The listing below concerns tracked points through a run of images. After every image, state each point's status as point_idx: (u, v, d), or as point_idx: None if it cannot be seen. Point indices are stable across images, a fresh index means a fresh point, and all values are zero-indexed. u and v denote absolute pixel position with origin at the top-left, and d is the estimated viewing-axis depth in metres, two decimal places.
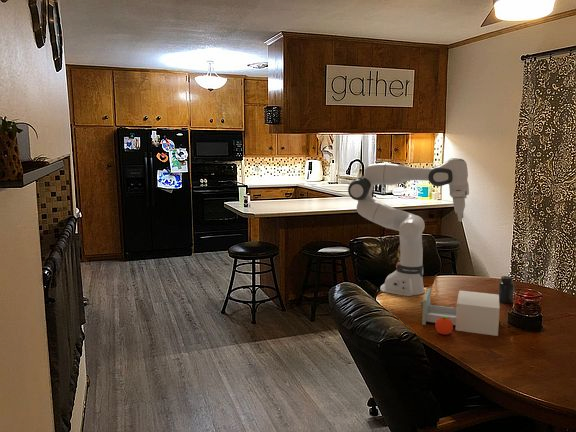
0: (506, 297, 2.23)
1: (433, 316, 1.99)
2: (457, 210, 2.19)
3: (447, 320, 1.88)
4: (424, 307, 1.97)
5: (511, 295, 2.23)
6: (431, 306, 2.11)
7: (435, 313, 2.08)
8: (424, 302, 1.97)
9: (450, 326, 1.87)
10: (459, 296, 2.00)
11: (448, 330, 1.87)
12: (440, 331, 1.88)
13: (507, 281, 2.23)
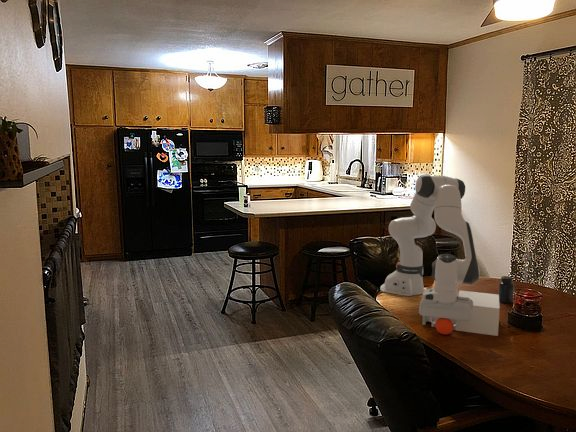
0: (506, 297, 2.23)
1: None
2: None
3: (447, 320, 1.88)
4: None
5: (511, 295, 2.23)
6: None
7: None
8: None
9: (450, 326, 1.87)
10: (459, 296, 2.00)
11: (448, 330, 1.87)
12: (440, 331, 1.88)
13: (507, 281, 2.23)
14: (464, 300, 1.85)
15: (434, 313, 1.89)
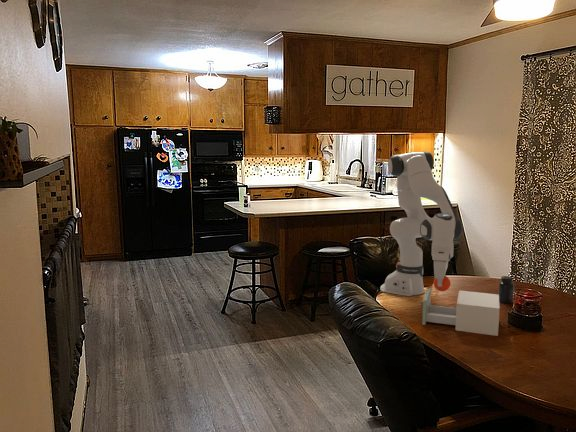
0: (506, 297, 2.23)
1: (433, 316, 1.99)
2: (437, 276, 1.92)
3: None
4: (424, 307, 1.97)
5: (511, 295, 2.23)
6: (431, 306, 2.11)
7: (435, 313, 2.08)
8: (424, 302, 1.97)
9: None
10: (459, 296, 2.00)
11: None
12: (448, 287, 2.00)
13: (507, 281, 2.23)
14: None
15: (445, 271, 1.97)
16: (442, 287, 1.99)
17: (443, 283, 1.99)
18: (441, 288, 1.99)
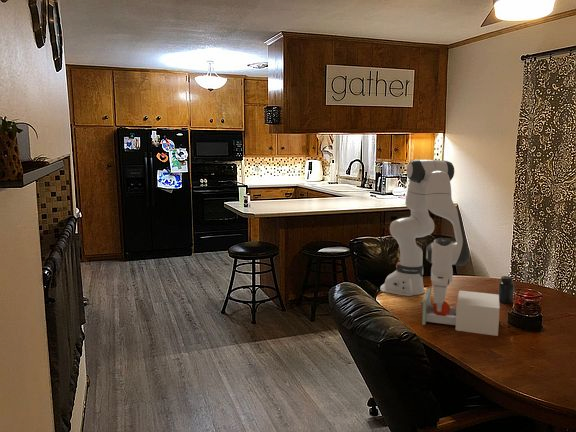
0: (506, 297, 2.23)
1: (433, 316, 1.99)
2: (436, 301, 1.94)
3: (444, 301, 2.04)
4: (424, 307, 1.97)
5: (511, 295, 2.23)
6: (431, 306, 2.11)
7: None
8: (424, 302, 1.97)
9: None
10: (459, 296, 2.00)
11: None
12: (447, 313, 2.02)
13: (507, 281, 2.23)
14: None
15: (444, 296, 1.98)
16: (441, 313, 2.01)
17: (442, 309, 2.00)
18: (440, 314, 2.01)
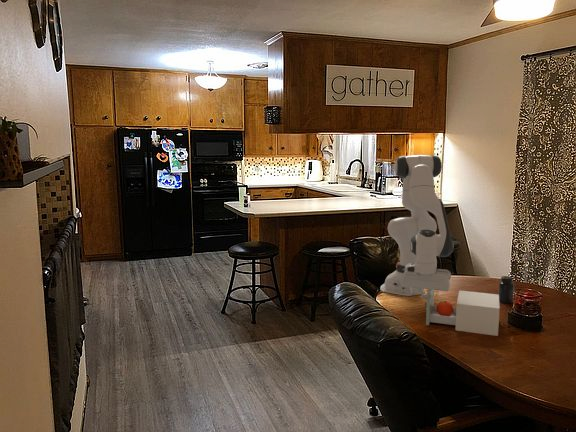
0: (506, 297, 2.23)
1: (437, 316, 1.99)
2: None
3: (448, 302, 2.03)
4: (428, 307, 1.97)
5: (511, 295, 2.23)
6: (434, 306, 2.10)
7: None
8: (428, 302, 1.96)
9: None
10: (459, 296, 2.00)
11: None
12: (451, 314, 2.01)
13: (507, 281, 2.23)
14: (443, 272, 2.00)
15: (415, 284, 2.04)
16: (445, 313, 2.00)
17: (446, 309, 2.00)
18: (444, 314, 2.00)
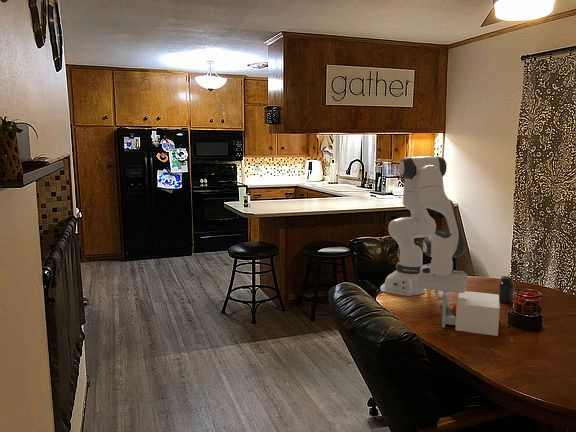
0: (506, 297, 2.23)
1: (453, 319, 1.96)
2: None
3: None
4: (444, 309, 1.94)
5: (511, 295, 2.23)
6: (450, 308, 2.08)
7: None
8: (444, 304, 1.94)
9: None
10: (459, 296, 2.00)
11: None
12: None
13: (507, 281, 2.23)
14: (459, 273, 1.98)
15: (431, 286, 2.02)
16: None
17: None
18: None
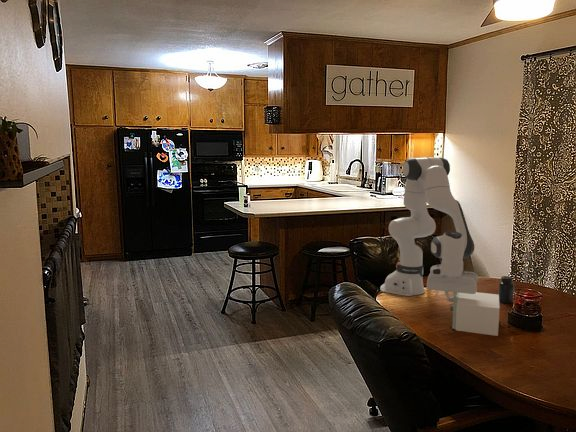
0: (506, 297, 2.23)
1: None
2: None
3: None
4: (454, 311, 1.93)
5: (511, 295, 2.23)
6: None
7: None
8: (454, 306, 1.92)
9: None
10: (459, 296, 2.00)
11: None
12: None
13: (507, 281, 2.23)
14: (469, 274, 1.96)
15: (441, 287, 2.00)
16: None
17: None
18: None
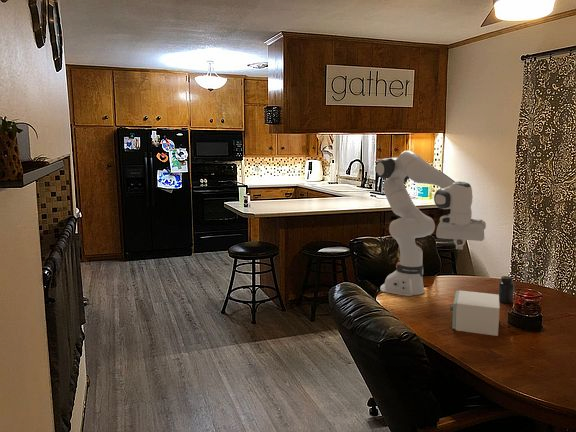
0: (506, 297, 2.23)
1: None
2: None
3: None
4: (454, 311, 1.93)
5: (511, 295, 2.23)
6: None
7: None
8: (454, 306, 1.92)
9: None
10: (459, 296, 2.00)
11: None
12: None
13: (507, 281, 2.23)
14: (477, 222, 2.05)
15: (450, 235, 2.09)
16: None
17: None
18: None
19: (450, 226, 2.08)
